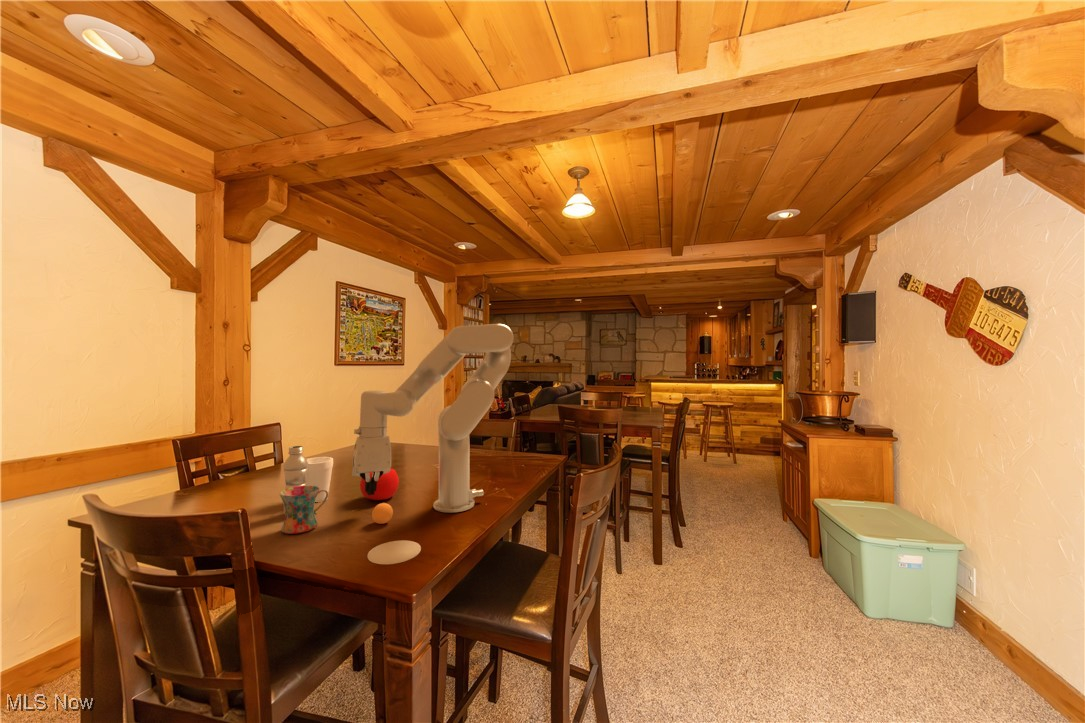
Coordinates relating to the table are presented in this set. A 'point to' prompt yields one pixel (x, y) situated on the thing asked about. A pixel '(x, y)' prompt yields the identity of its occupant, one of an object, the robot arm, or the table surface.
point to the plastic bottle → (295, 468)
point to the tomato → (383, 486)
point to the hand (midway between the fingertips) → (370, 493)
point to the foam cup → (319, 475)
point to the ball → (382, 513)
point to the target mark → (394, 552)
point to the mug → (300, 508)
